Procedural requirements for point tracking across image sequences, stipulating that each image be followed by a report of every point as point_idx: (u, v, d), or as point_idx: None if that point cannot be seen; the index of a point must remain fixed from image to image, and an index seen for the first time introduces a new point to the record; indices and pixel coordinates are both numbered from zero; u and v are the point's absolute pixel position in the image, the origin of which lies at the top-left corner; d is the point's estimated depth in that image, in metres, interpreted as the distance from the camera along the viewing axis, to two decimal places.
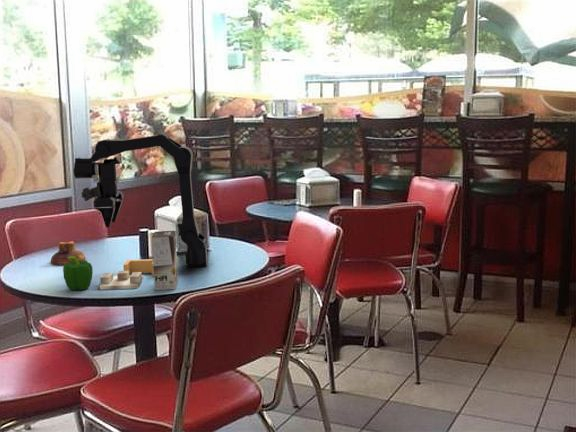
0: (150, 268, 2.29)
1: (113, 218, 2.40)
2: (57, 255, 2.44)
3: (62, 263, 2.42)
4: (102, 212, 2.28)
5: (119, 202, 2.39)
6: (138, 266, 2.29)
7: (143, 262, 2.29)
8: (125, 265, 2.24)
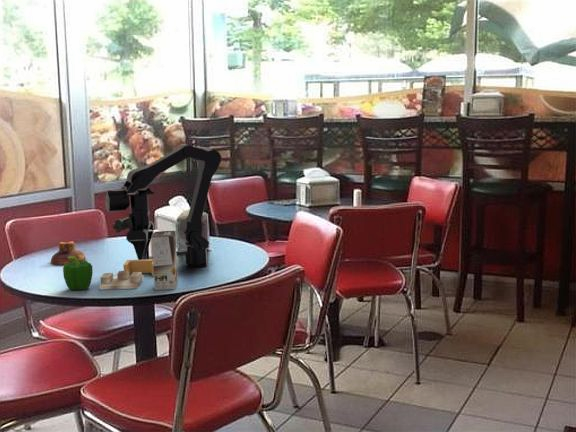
0: (150, 268, 2.29)
1: (144, 249, 2.34)
2: (57, 255, 2.44)
3: (62, 263, 2.42)
4: (134, 245, 2.23)
5: (150, 233, 2.34)
6: (138, 266, 2.29)
7: (143, 262, 2.29)
8: (125, 265, 2.24)
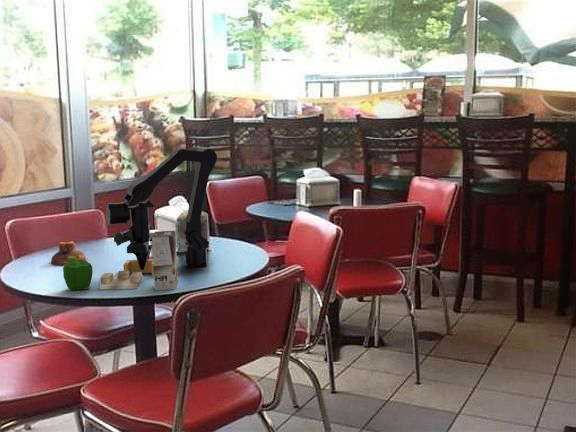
0: (150, 268, 2.29)
1: None
2: (57, 255, 2.44)
3: (62, 263, 2.42)
4: (137, 255, 2.27)
5: (149, 247, 2.31)
6: (138, 266, 2.29)
7: None
8: (125, 265, 2.24)
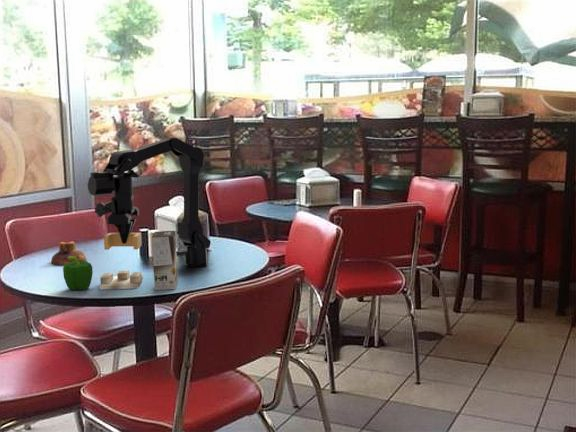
0: (132, 242, 2.19)
1: None
2: (58, 255, 2.44)
3: (63, 263, 2.42)
4: (119, 227, 2.16)
5: (132, 220, 2.21)
6: (120, 239, 2.19)
7: None
8: (106, 237, 2.14)
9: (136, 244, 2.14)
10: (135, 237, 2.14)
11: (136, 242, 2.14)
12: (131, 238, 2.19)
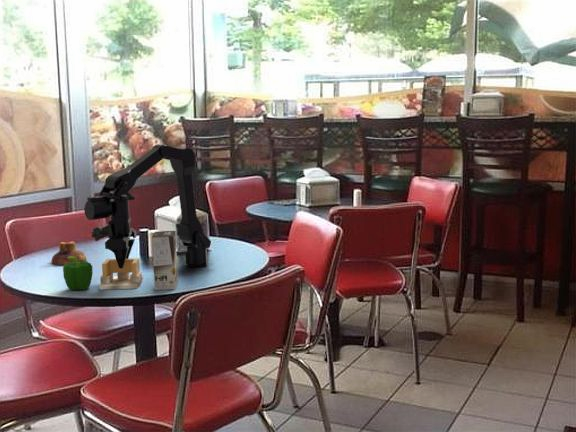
0: (131, 268, 2.18)
1: None
2: (58, 255, 2.44)
3: (63, 263, 2.42)
4: (115, 252, 2.13)
5: (131, 242, 2.21)
6: None
7: None
8: (104, 265, 2.12)
9: (135, 271, 2.13)
10: (133, 264, 2.13)
11: (135, 269, 2.13)
12: (129, 264, 2.17)
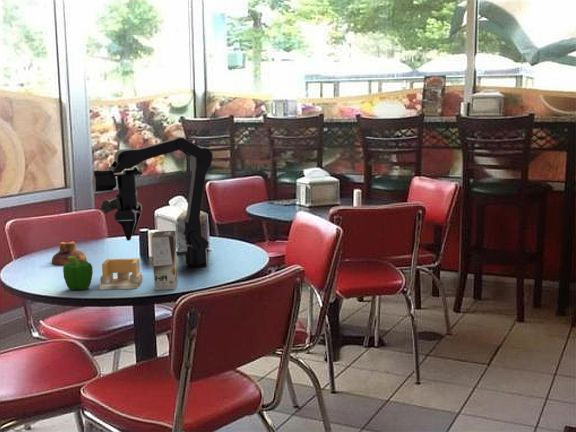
0: (131, 268, 2.18)
1: (132, 230, 2.32)
2: (58, 255, 2.44)
3: (63, 263, 2.42)
4: (123, 225, 2.21)
5: (138, 214, 2.32)
6: (118, 265, 2.17)
7: (123, 261, 2.17)
8: (104, 265, 2.12)
9: (135, 271, 2.13)
10: (133, 264, 2.13)
11: (135, 269, 2.13)
12: (129, 264, 2.17)
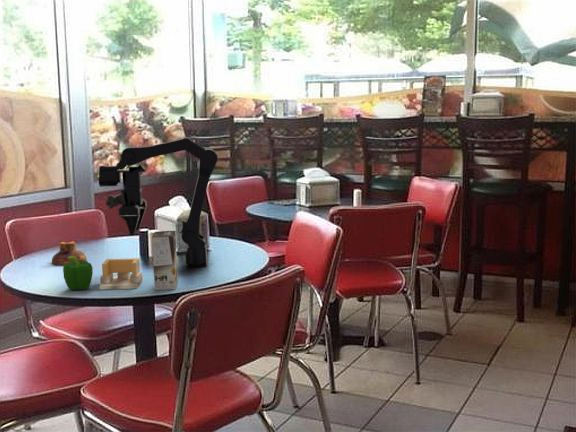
0: (131, 268, 2.18)
1: (137, 226, 2.38)
2: (58, 255, 2.44)
3: (63, 263, 2.42)
4: (127, 220, 2.27)
5: (143, 210, 2.38)
6: (118, 265, 2.17)
7: (123, 261, 2.17)
8: (104, 265, 2.12)
9: (135, 271, 2.13)
10: (133, 264, 2.13)
11: (135, 269, 2.13)
12: (129, 264, 2.17)
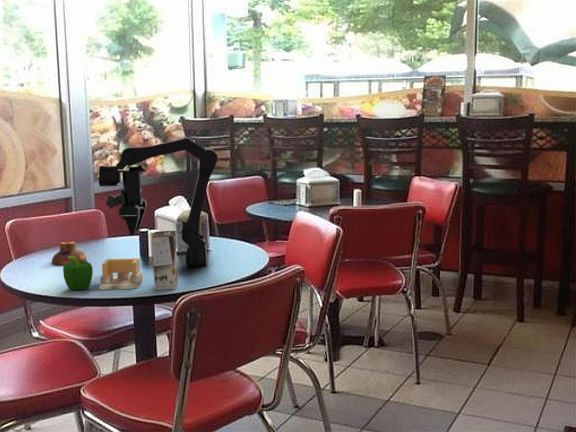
0: (131, 268, 2.18)
1: (137, 226, 2.38)
2: (58, 255, 2.44)
3: (63, 263, 2.42)
4: (127, 220, 2.27)
5: (143, 210, 2.38)
6: (118, 265, 2.17)
7: (123, 261, 2.17)
8: (104, 265, 2.12)
9: (135, 271, 2.13)
10: (133, 264, 2.13)
11: (135, 269, 2.13)
12: (129, 264, 2.17)
